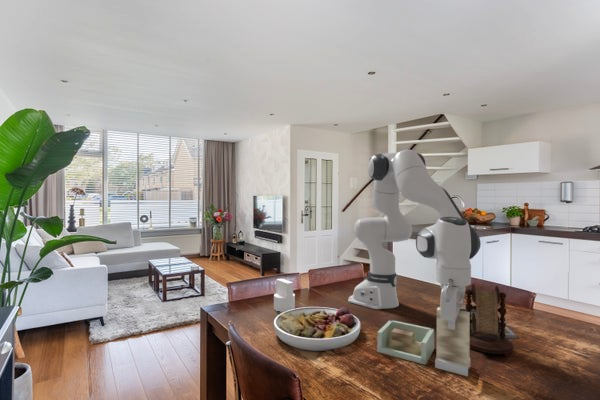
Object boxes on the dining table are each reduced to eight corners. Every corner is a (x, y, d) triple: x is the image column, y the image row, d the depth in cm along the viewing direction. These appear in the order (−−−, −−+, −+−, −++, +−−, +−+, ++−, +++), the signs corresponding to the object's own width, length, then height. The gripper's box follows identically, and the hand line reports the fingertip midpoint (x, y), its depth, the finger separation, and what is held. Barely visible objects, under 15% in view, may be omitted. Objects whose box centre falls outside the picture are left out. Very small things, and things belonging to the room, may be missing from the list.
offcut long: (389, 348, 100) (389, 339, 100) (392, 345, 103) (392, 335, 103) (419, 356, 96) (419, 346, 96) (422, 352, 98) (422, 342, 98)
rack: (377, 355, 99) (377, 332, 98) (389, 340, 109) (389, 319, 109) (425, 368, 91) (425, 343, 91) (434, 351, 101) (434, 329, 101)
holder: (435, 371, 89) (435, 359, 89) (439, 361, 94) (439, 350, 94) (467, 380, 85) (467, 367, 85) (470, 369, 90) (470, 358, 90)
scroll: (462, 354, 99) (462, 288, 99) (457, 335, 113) (457, 277, 113) (518, 362, 94) (519, 293, 94) (506, 341, 108) (506, 281, 108)
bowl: (304, 365, 93) (304, 337, 93) (259, 329, 118) (259, 307, 118) (379, 341, 109) (379, 317, 109) (325, 314, 134) (325, 295, 134)
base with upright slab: (269, 308, 141) (270, 280, 141) (286, 304, 146) (287, 277, 146) (281, 313, 134) (281, 284, 134) (299, 309, 139) (299, 281, 139)
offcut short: (391, 339, 100) (391, 331, 100) (394, 336, 103) (394, 328, 103) (411, 344, 97) (411, 335, 97) (413, 340, 99) (413, 332, 99)
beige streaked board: (436, 359, 91) (436, 309, 91) (438, 355, 93) (438, 306, 93) (468, 367, 87) (468, 314, 86) (469, 363, 89) (469, 312, 89)
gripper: (461, 286, 79) (461, 342, 79) (469, 270, 96) (469, 317, 97) (433, 282, 83) (433, 337, 83) (446, 268, 100) (446, 313, 100)
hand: (452, 326), depth 90 cm, fingers closed on beige streaked board, 2 cm apart
